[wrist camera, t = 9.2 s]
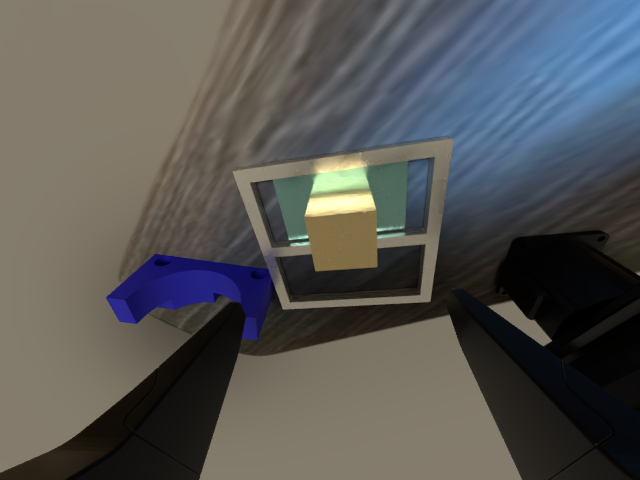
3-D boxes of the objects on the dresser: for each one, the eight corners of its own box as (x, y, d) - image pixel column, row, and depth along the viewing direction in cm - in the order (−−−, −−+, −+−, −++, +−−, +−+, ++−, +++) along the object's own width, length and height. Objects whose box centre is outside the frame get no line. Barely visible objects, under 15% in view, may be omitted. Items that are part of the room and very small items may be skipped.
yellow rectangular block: (366, 177, 17) (376, 210, 12) (368, 224, 19) (377, 267, 14) (313, 184, 18) (304, 217, 13) (321, 228, 20) (315, 271, 15)
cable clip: (167, 284, 26) (125, 332, 21) (156, 252, 23) (105, 297, 18) (274, 299, 26) (257, 350, 21) (274, 269, 23) (256, 318, 18)
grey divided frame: (447, 135, 15) (453, 138, 14) (426, 294, 23) (430, 301, 22) (237, 167, 17) (232, 171, 17) (284, 302, 25) (283, 309, 25)
